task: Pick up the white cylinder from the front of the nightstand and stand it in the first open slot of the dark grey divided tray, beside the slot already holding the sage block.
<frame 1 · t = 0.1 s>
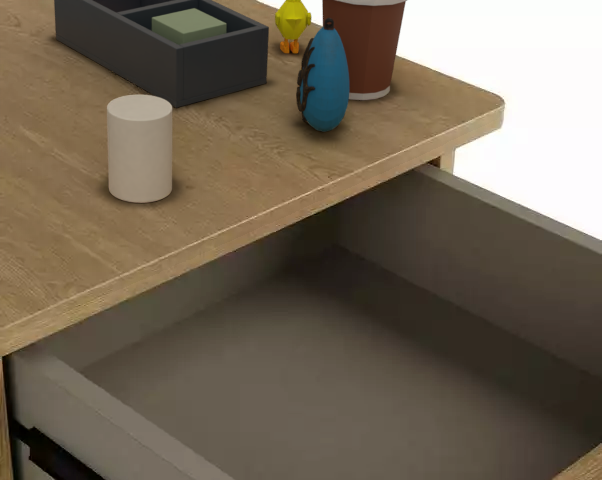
sage block: (188, 71, 123), point 1 cm above the table, touching dark grey divided tray
white cylinder: (140, 188, 103), on the table
toy figure: (289, 50, 131), on the table
coffee cup: (356, 88, 124), on the table
ornament: (320, 128, 115), on the table
dark grey divided tray: (158, 60, 126), on the table
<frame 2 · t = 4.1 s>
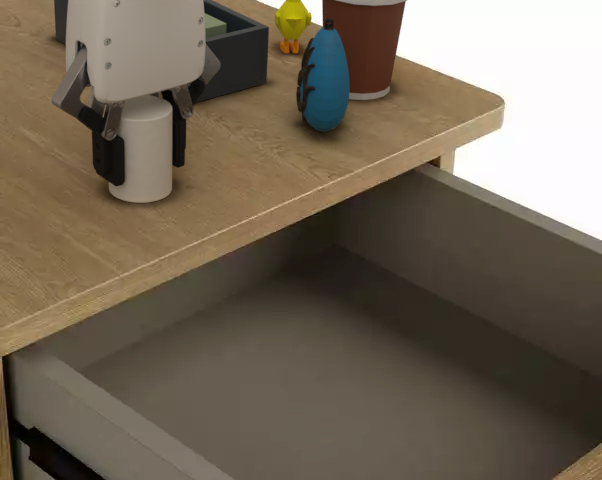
hand: (140, 167, 102), 2 cm above the table, tool pointing down, fingers closed on white cylinder, 5 cm apart
white cylinder: (140, 188, 103), on the table, touching gripper
everything else where it was.
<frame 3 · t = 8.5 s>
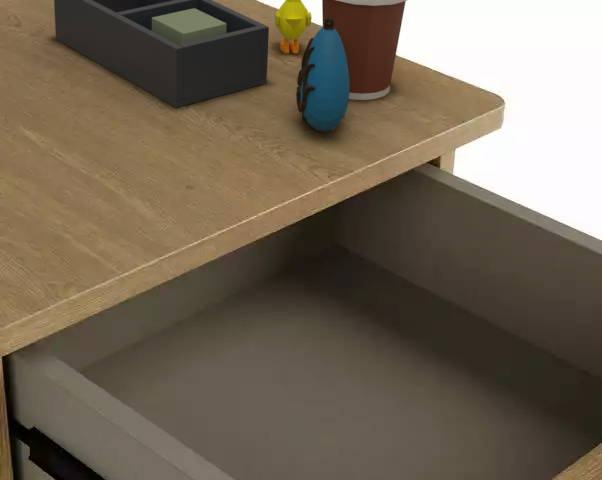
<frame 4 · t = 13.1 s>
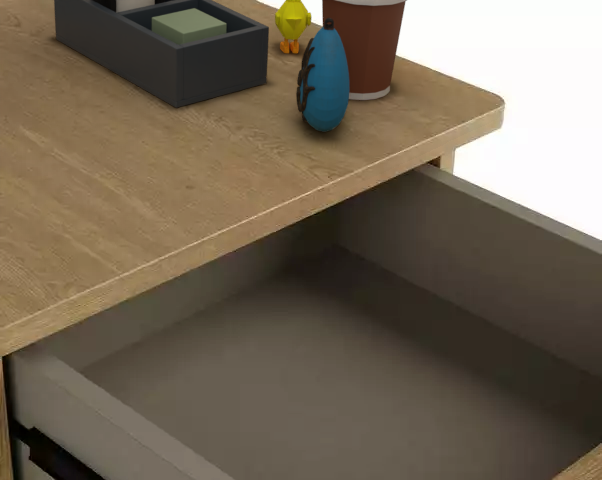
hand: (128, 13, 128), 3 cm above the table, tool pointing down, fingers closed on white cylinder, 5 cm apart
white cylinder: (129, 31, 129), point 1 cm above the table, touching gripper
everything else where it was.
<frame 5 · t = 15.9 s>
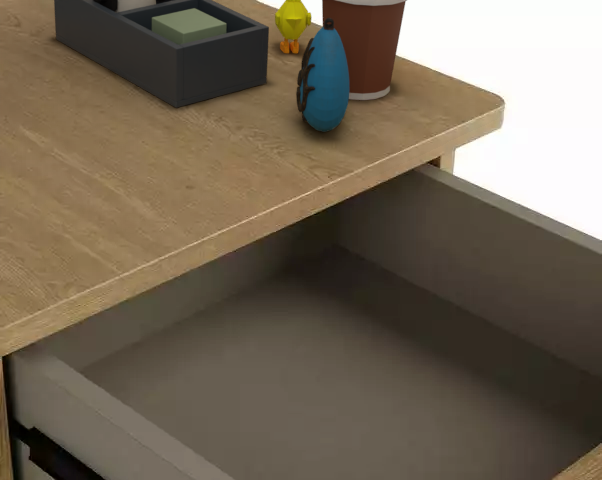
hand: (129, 0, 127), 5 cm above the table, tool pointing down, fingers closed on white cylinder, 4 cm apart
white cylinder: (130, 18, 128), point 3 cm above the table, touching gripper
everything else where it was.
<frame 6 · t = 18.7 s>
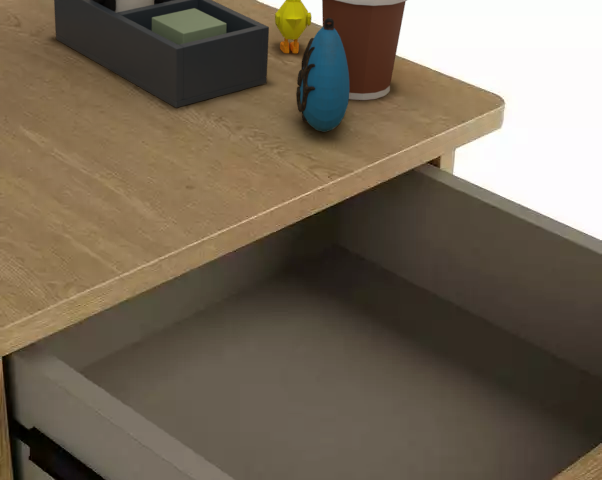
hand: (128, 2, 127), 4 cm above the table, tool pointing down, fingers closed on white cylinder, 4 cm apart
white cylinder: (128, 20, 128), point 3 cm above the table, touching gripper
everything else where it was.
when the fingers open (5 cm above the table, at t = 23.9 s): white cylinder drops 2 cm, resting on dark grey divided tray.
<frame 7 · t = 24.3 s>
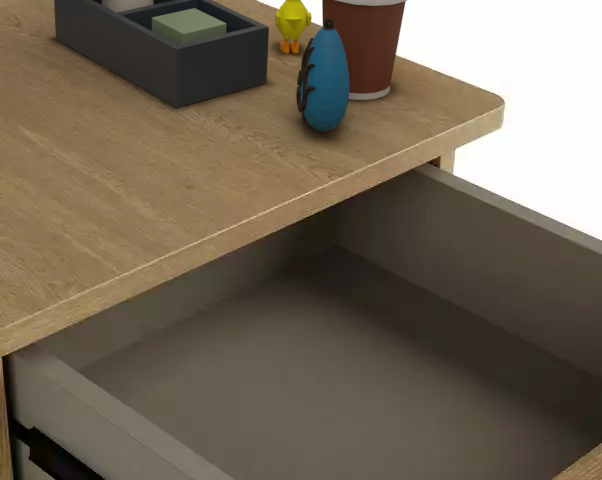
white cylinder: (128, 38, 129), point 1 cm above the table, touching dark grey divided tray
everything else where it was.
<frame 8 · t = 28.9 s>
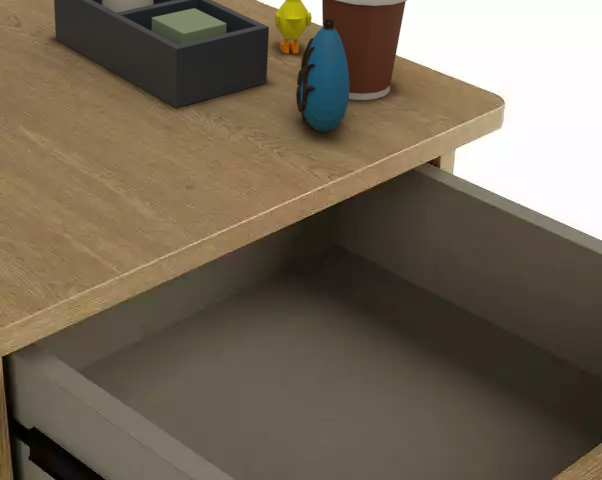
nothing on the table moved.
at the end: white cylinder 0.2 cm from the target spot in the dark grey divided tray, point 0.8 cm above the dark grey divided tray's base; white cylinder tilted 0°; sage block 0.0 cm from the target spot in the dark grey divided tray, point 0.6 cm above the dark grey divided tray's base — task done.
